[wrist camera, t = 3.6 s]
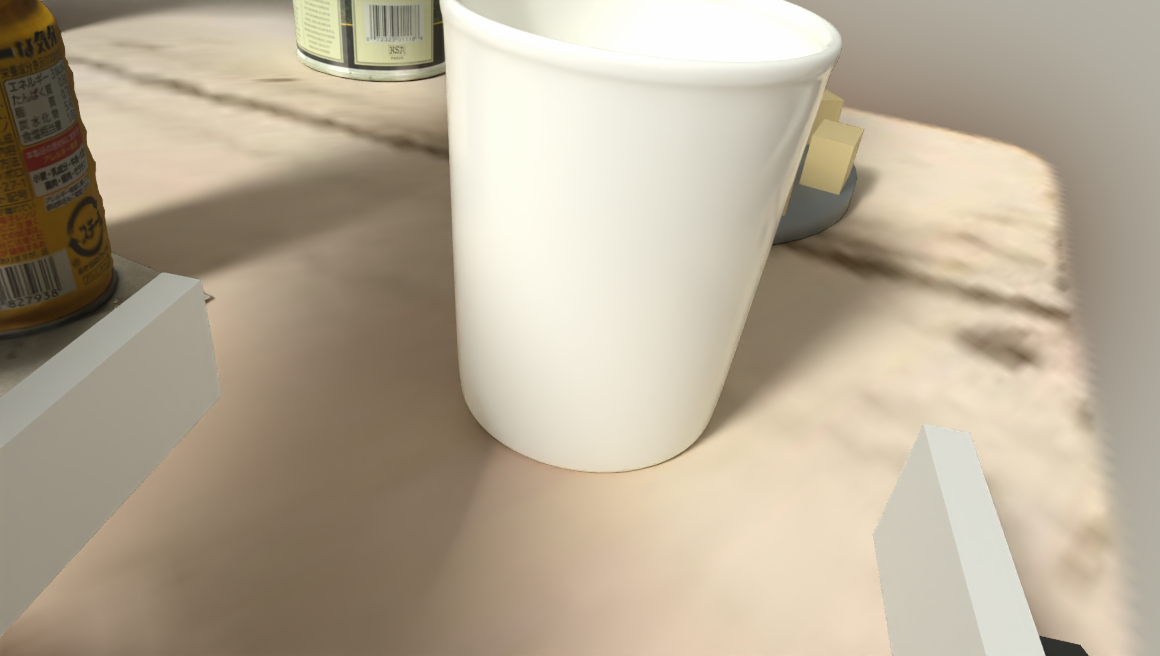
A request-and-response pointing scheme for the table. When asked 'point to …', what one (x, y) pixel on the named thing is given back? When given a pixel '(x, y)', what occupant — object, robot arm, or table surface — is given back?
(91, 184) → the condiment
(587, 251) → the candle holder
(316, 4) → the coffee can
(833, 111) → the ring seat
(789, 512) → the table surface
